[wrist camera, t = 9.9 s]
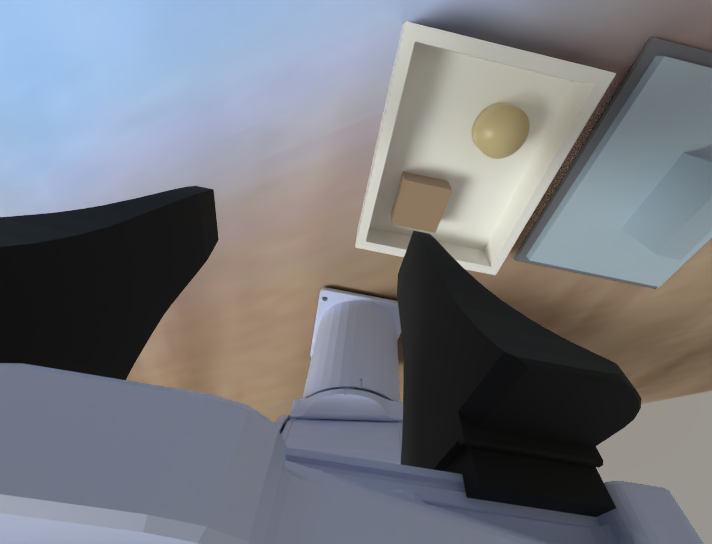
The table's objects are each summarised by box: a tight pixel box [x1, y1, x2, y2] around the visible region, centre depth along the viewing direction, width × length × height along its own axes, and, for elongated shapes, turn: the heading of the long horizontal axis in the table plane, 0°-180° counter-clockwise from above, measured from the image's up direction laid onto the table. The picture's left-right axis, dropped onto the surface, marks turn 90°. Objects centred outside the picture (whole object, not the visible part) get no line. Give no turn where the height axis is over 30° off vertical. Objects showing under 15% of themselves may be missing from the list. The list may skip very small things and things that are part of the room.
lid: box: [526, 56, 712, 287], centre depth 18 cm, size 12×10×4 cm
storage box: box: [355, 21, 616, 275], centre depth 18 cm, size 12×10×3 cm
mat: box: [514, 38, 712, 289], centre depth 19 cm, size 14×12×1 cm
